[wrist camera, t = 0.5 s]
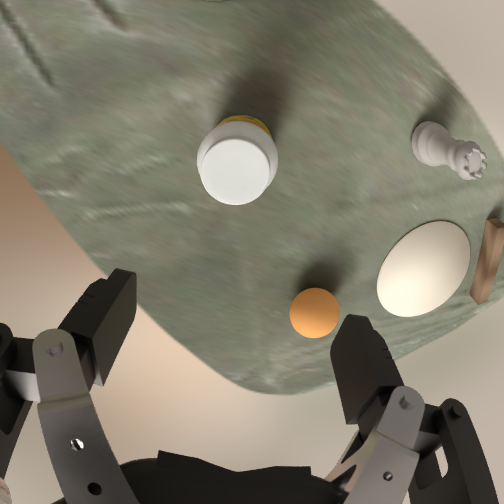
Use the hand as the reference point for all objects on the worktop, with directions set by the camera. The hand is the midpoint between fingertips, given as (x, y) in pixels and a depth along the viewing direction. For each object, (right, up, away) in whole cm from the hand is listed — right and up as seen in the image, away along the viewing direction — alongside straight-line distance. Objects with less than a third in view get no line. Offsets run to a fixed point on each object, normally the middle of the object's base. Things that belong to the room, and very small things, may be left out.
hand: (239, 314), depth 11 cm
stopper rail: (+32, +1, +19) cm, 37 cm away
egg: (+7, -4, +20) cm, 22 cm away
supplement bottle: (0, +12, +14) cm, 18 cm away
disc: (+22, 0, +21) cm, 30 cm away
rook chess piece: (+18, +13, +13) cm, 25 cm away
